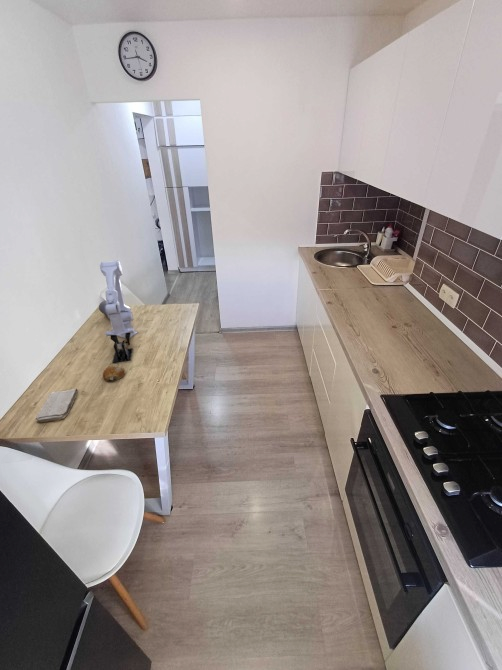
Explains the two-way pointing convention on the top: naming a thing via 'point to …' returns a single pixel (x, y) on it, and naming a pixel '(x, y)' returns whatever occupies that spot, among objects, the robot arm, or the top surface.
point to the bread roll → (113, 372)
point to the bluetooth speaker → (103, 307)
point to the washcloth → (57, 405)
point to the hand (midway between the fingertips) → (123, 345)
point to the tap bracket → (122, 353)
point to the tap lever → (120, 345)
